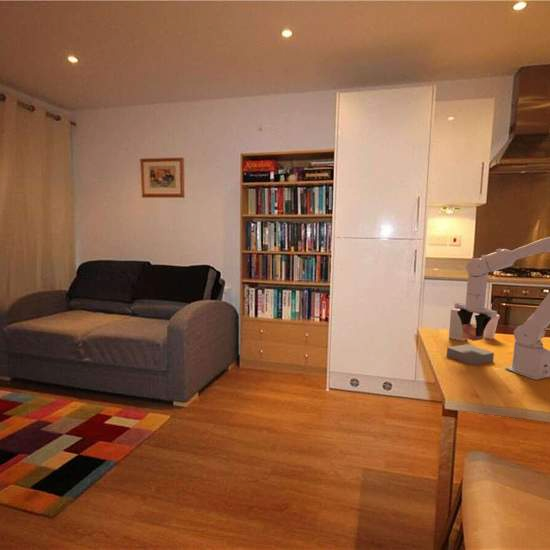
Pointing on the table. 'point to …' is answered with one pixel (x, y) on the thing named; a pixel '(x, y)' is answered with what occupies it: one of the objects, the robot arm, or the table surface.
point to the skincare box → (455, 326)
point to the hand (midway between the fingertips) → (472, 333)
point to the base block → (470, 354)
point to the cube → (471, 332)
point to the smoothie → (491, 327)
